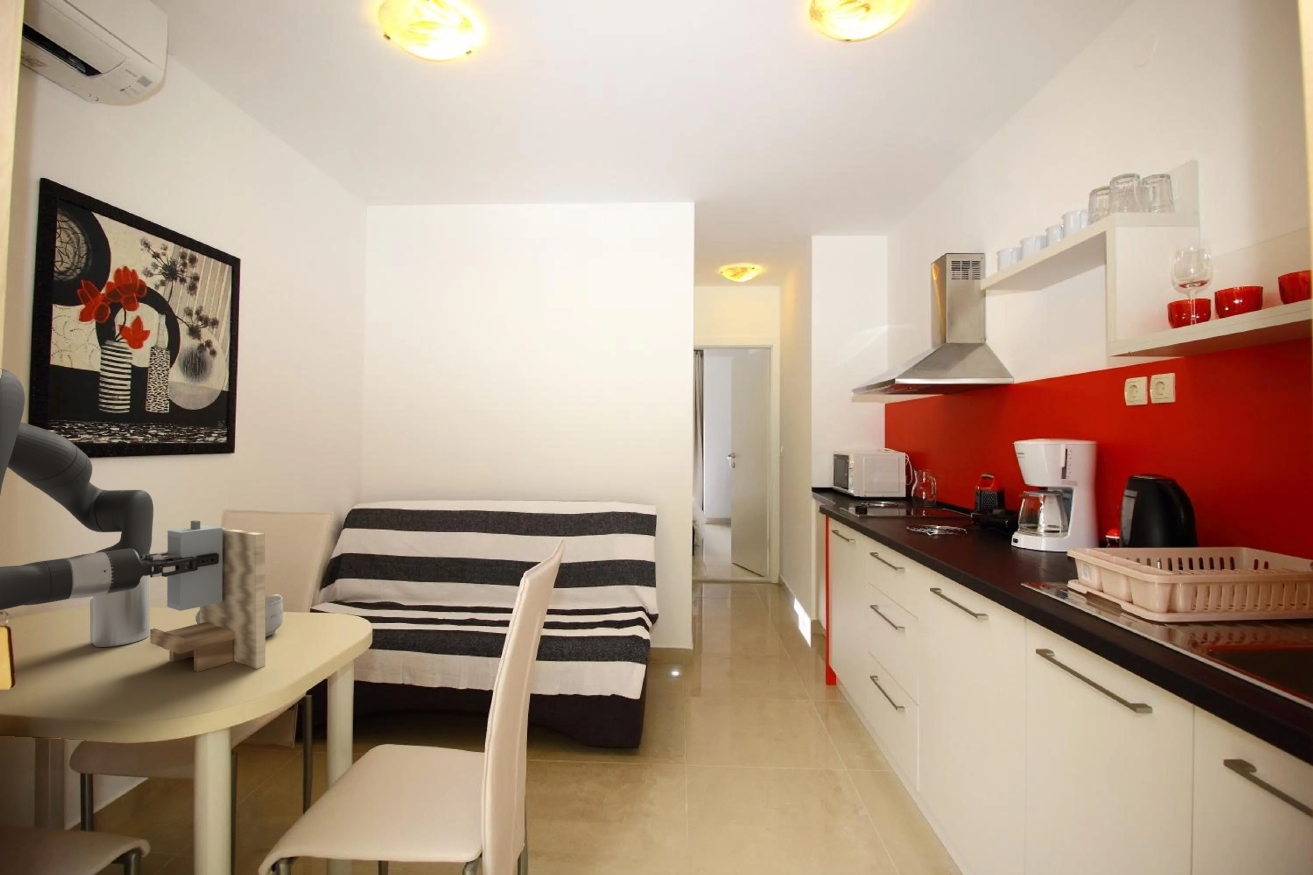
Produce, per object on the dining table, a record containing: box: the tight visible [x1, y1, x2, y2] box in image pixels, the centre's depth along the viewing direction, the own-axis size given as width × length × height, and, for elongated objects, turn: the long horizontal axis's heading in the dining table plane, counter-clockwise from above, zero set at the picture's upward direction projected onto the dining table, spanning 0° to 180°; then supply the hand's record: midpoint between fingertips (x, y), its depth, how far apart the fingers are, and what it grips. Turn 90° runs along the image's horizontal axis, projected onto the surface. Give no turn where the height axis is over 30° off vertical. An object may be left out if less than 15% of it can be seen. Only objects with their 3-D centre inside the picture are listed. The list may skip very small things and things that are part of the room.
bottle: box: [166, 520, 224, 612], centre depth 116 cm, size 6×7×17 cm
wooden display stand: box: [149, 525, 266, 673], centre depth 115 cm, size 22×11×26 cm, turn 61°
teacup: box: [265, 593, 284, 638], centre depth 133 cm, size 14×11×8 cm
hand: (209, 556), depth 118 cm, fingers closed on bottle, 5 cm apart
